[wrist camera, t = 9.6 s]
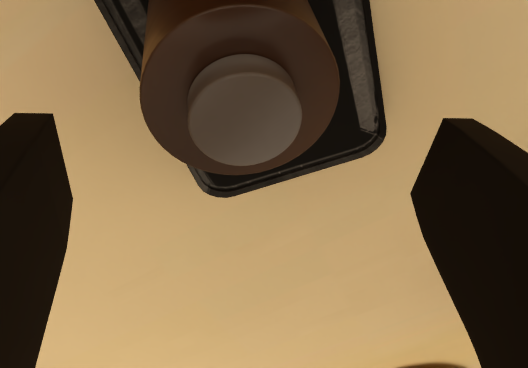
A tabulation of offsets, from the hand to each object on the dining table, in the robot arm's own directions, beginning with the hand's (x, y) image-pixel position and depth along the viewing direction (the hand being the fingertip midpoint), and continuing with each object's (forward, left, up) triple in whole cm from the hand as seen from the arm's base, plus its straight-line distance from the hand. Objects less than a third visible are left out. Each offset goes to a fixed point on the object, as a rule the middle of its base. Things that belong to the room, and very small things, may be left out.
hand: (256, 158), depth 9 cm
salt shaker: (0, 0, -8) cm, 8 cm away
